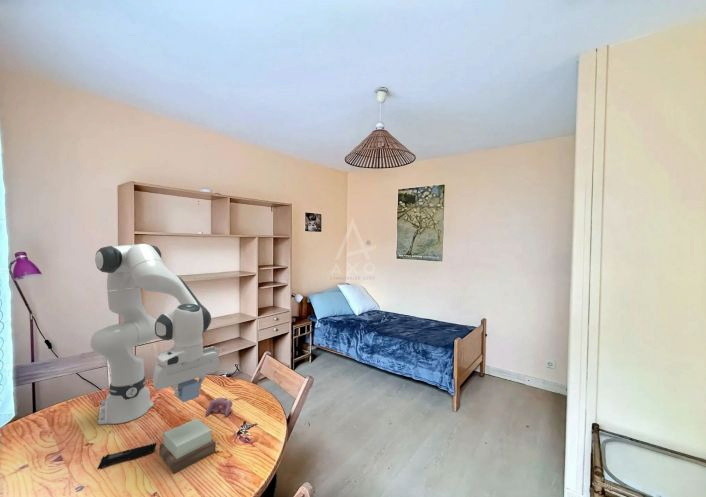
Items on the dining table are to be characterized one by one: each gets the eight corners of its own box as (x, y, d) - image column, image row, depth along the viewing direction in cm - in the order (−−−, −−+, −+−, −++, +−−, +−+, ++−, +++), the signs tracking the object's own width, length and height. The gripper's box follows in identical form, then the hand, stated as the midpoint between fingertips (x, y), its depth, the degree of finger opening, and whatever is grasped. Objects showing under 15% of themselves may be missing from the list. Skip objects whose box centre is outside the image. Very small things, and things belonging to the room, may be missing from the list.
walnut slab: (159, 456, 99) (159, 444, 99) (199, 437, 109) (199, 426, 109) (173, 475, 91) (173, 463, 91) (215, 453, 100) (215, 442, 100)
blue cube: (177, 397, 99) (177, 382, 99) (192, 391, 103) (193, 377, 103) (183, 402, 96) (183, 387, 96) (198, 396, 100) (199, 382, 100)
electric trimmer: (155, 455, 99) (156, 446, 99) (96, 471, 92) (97, 461, 92) (156, 448, 103) (157, 439, 103) (100, 463, 95) (100, 453, 95)
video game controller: (231, 416, 124) (234, 398, 127) (226, 417, 120) (230, 398, 123) (209, 415, 125) (213, 397, 128) (203, 416, 121) (208, 397, 124)
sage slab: (163, 444, 99) (163, 432, 99) (197, 428, 108) (197, 418, 108) (176, 459, 92) (176, 446, 92) (211, 441, 101) (211, 430, 101)
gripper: (214, 342, 109) (214, 379, 110) (151, 358, 94) (150, 400, 94) (222, 346, 105) (222, 384, 105) (157, 363, 90) (157, 407, 90)
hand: (188, 392), depth 99 cm, fingers closed on blue cube, 5 cm apart
